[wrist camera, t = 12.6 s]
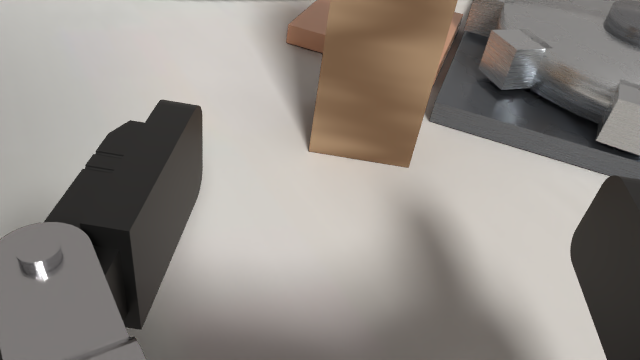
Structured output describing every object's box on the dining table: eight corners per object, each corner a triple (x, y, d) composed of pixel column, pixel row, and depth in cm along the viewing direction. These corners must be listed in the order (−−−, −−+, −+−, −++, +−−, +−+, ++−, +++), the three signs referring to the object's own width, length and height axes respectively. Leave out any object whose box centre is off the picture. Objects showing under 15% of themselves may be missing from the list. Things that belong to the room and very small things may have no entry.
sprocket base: (429, 120, 25) (435, 101, 24) (477, 4, 37) (482, -10, 37) (853, 249, 21) (873, 231, 21) (746, 73, 34) (756, 58, 33)
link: (307, 151, 22) (348, -138, 15) (317, 99, 25) (355, -157, 19) (409, 168, 22) (493, -113, 15) (406, 114, 25) (474, -137, 19)
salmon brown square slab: (286, 42, 29) (288, 24, 28) (335, -3, 35) (338, -19, 34) (433, 85, 27) (438, 67, 27) (458, 30, 33) (463, 14, 33)
